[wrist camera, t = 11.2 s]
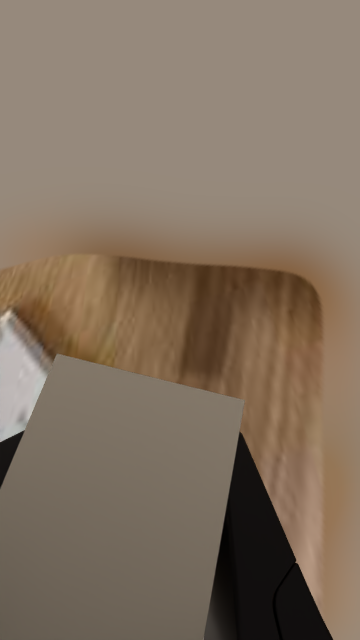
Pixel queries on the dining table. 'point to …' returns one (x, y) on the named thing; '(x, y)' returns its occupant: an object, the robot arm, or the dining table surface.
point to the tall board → (115, 507)
